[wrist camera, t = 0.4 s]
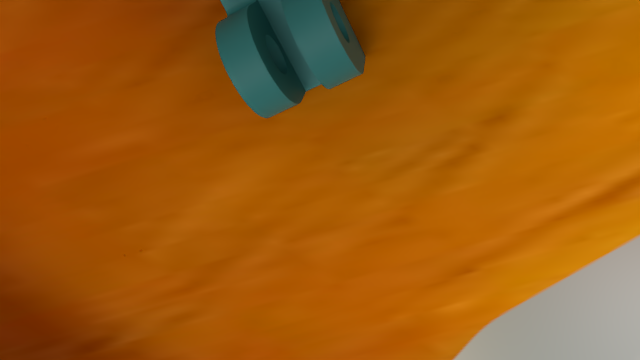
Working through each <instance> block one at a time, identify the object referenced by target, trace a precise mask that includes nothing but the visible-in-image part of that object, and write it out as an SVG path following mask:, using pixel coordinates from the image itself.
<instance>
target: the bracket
mask: <svg viewBox="0 0 640 360" xmlns="http://www.w3.org/2000/svg"><path fill="white" fill-rule="evenodd" d="M220 1H221V3H222V5H223V6H224V8H225V10H226V12H227V15H228V16H227V18H225V19H223V20H221V21H220V22H218V24H217V26H216V32H215V34H216V42H217V47H218V50H219V54H220V57H221V59H222V62H223V64H224V67H225V69H226V71H227V73H228V75H229V77H230V79H231V81H232V83H233V85H234V86H235V88H236V89H237V91H238V93H239V94H240V95H241V97H242V98H243V100H244V101H245V102H246V103H247V105H248V106H249V107H250V108H251V109H252V110H253V111H254V112H255V113H257V114H258V115H260V116H261V117H264V118H269V117H272V116H274V115H276V114H278V113H280V112H282V111H284V110H286V109H289V108H291V107H293V106H295V105H297V104H299V103H300V102H301V101H302V99H303V96H304V94H305V92H306V91H308V90H310V89H312V88H314V87H316V86H318V85H320V84H322V85H323V86H324V87H326V88H327V89H331V88H333V87H335V86H337V85H339V84H342V83H344V82H346V81H348V80H350V79H352V78H354V77H356V76H359V75H361V74H363V71H364V63H365V55H364V53H363V51H362V48H361V46H360V44H359V42H358V40H357V38H356V36H355V34H354V31H353V29H352V27H351V25H350V23H349V21H348V19H347V17H346V14H345V12H344V10H343V8H342V6H341V4H340V2H339V0H220Z"/></svg>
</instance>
